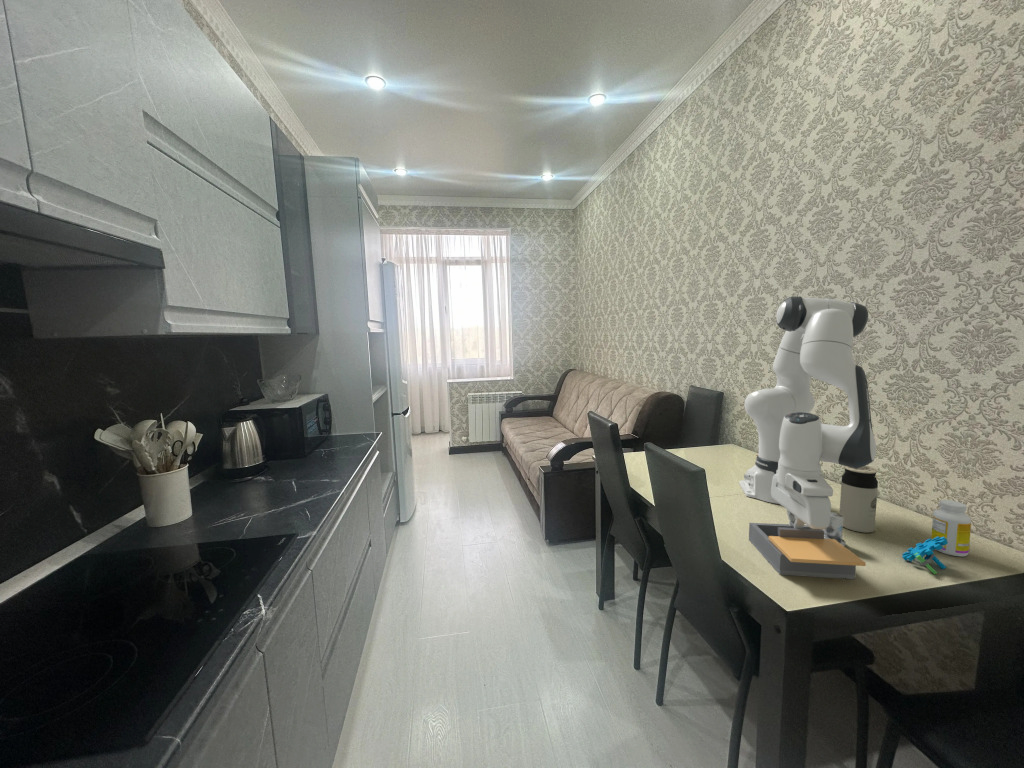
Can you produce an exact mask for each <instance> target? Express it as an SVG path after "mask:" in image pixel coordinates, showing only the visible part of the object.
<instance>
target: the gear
mask: <svg viewBox="0 0 1024 768" xmlns="http://www.w3.org/2000/svg"><path fill="white" fill-rule="evenodd" d="M947 543H948V542H947V539H946V538H945V537H941V538H940V537H935V538H934V539H931V538H927V539H926V540H925V541H924V542H923V543H922V542H918V543H916V544H915V547H909V548H907V550H906V551H905V552H903V553H902V556H901V557H902V559H903V560H904V561H909V562H913V561H914V560H918V561H919V563H920V565H921V566H925V567H926V568H927V569H928V570H929V571H930V572H931V573H933V575H937V574H938V572H937V570H935V569H934V568H933V567H932V566H931V565H930V563H931V561H933V562H934V563H935V565H937V566H938V567H939V568H940V570H944V569H946V568H947V566H946V565H945V564H944V563H943V562H942V561H941V560H940V559H939V558H938V557H937V556H936V554H935V552H934V551H937V550H940V549H942V548H943V547H942V546H941V545H946V544H947ZM935 549H937V550H935Z"/></svg>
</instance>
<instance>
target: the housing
mask: <svg viewBox="0 0 1024 768" xmlns="http://www.w3.org/2000/svg"><path fill="white" fill-rule="evenodd" d="M748 525H749V527H748V541H749V542H750V543H751V544H752V545H753V547H755V548H756V550H757V551H758V552H759V554H761V555H762V557H764V558H765V560H766V561H767V563H769V565H770V566H771V567H772V568H773V569H774V570H775V571H776V572H777V574H778V575H784V576H798V577H815V578H828V579H829V578H830V579H831V578H832V579H843V578H844V580H845V578H846V579H847V580H856V572H857V571H856V569H857V568H856V567H857V566H854V565H837V564H820V563H802V562H791V561H790V560H789V559H788V558H787V557H786V556H785V555H784V554H783V553H782V552H781V551H780V550H779V549H778V548H777V547H776V546H775V545H774V544H773V543H772V542H771V541H770V540H769V539H768V537H769V536H778V527H785V528H791V527H790V526H789V523H788V524H786V523H770V522H769V523H765V522H749V523H748ZM803 528H807V529H812V528H810V527H809V526H808V525H806V524H804V526H803ZM824 539H830V538H829V537H827V536H826V535H825V534H824Z"/></svg>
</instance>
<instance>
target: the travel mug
mask: <svg viewBox="0 0 1024 768" xmlns="http://www.w3.org/2000/svg"><path fill="white" fill-rule="evenodd" d="M842 467H843V468H844V473H843V474H842V475H841V480H840V481H841V484H840V486H841V487H840V501H839V514H840V515H842V516H843V528H845V529H847V530H850V531H853V532H858V533H865V534H866V533H869V534H870V533H874V532H875V528H876V516H877V502H878V488H879V480H878V479H877V477H876V475H877V473H878V472H879V471H878V469H877V468H875V467H872V466H868V465H866V466H863V467H860V468H857V469H856V468H852V467H848V466H844V465H842Z"/></svg>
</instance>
